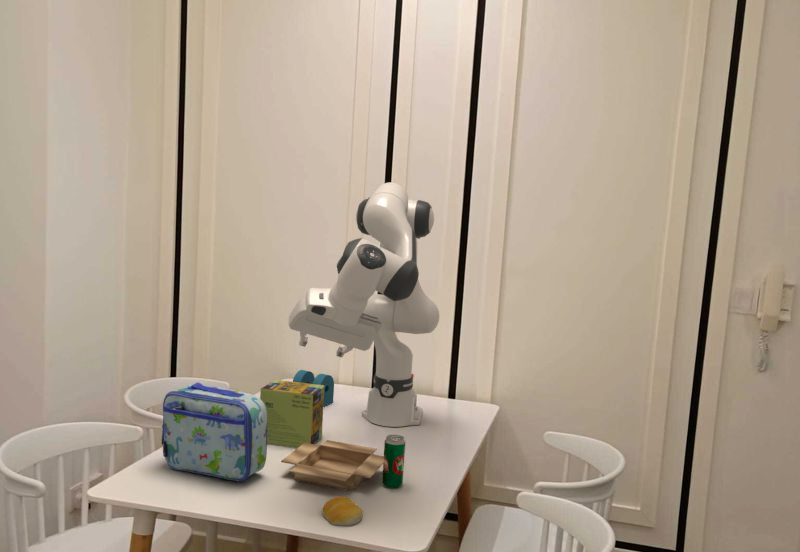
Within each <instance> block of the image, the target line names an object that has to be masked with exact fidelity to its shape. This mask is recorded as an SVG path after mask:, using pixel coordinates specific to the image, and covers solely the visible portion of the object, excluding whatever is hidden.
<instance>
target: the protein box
mask: <svg viewBox="0 0 800 552" xmlns="http://www.w3.org/2000/svg"><path fill="white" fill-rule="evenodd" d="M259 399H261V400H262V401H263V403H264V405H265V407H266V411H267V445H272V446H279V447H288V448H292V447H293V448H292V449H297V448H298V447H300V446H301V445H302V444H304V443H310V444H315V445H317V444H318V442H319V441H320V440H321V439H322V438H323V421H324V419H323V418H324V416H323V415H324V408H323V402H324V385H316V384H308V383H300V382H293V381H290V380H280V379H274V380H272V381H271V382H269V383H268V384H266V385H264V386H263V387H262V388H260V397H259Z"/></svg>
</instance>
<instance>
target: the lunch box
mask: <svg viewBox="0 0 800 552" xmlns="http://www.w3.org/2000/svg"><path fill="white" fill-rule="evenodd" d="M162 411H163V413H162V414H163V416H162V425H161V428H162V430H161V445H162V456H163V457H164V458H165V462H166V464H167V466H168V467H169V468H170V469H171V470H173V471H182V472H183V471H184V472H189V473H194V474H200V475H203V476H204V475H205V476H210V477H214V478H219V479H224V480H228V481H232V482H234V481H235V482H244V481H246V480H247V479H248V478H249V477H250V476H252V475H253V474H256V473H257V472H259V471H261V470H263V469H264V467H265V465H266V462H267V461H266V460H267V454H268V453H267V450H268V444H267V411H266V407H265V405H264V403H263V401H262V400H261V399H260V397H258V396H256V395H254V394H252V393H249V392H243V391H240V390H234V389H230V388H223V387H218V386H211V385H210V386H209V385H205V384H202V383H200V382H199V381H198V382H195V383H193V384H189V385H186V386H184V387H183V388H180V389H176V390H174V391H172V390H171V391H169V392H167V393H166V394H165V396H164V398H163V401H162Z"/></svg>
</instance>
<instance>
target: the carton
mask: <svg viewBox="0 0 800 552" xmlns="http://www.w3.org/2000/svg"><path fill="white" fill-rule="evenodd" d="M377 450H378V447H377V448H376V447H371V446H366V445H360V444H353V443H347V442H341V441H335V440H328V439H326V440H325V441H324V442H322V444H310V443H304V444H302V445H301V446H300V447H298V448H295V449H294V450H293V451H292V452H290V453H289V454H288V455H287V456H285V457H284V458H283V459H282V460H280V462H281V463H284V464H290V465H294V467H292V468H291V469H290V470H289V471H290V473H294V481H297V482H303V483H307V484H313V485H317V486H323V487H329V488H334V489H338V490H344V491H350V492H353V491H354V490H356V488H357V487H358V486H359V485H360V484H361V483H362V482H363V480H364V479H365V478H366V479H371V478H372V477H373V476H374V475H375V474H376V473H377V471H378V470H379V469H380V468H381V467H383V459H384V455H378V454H374V453H375V452H377Z"/></svg>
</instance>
